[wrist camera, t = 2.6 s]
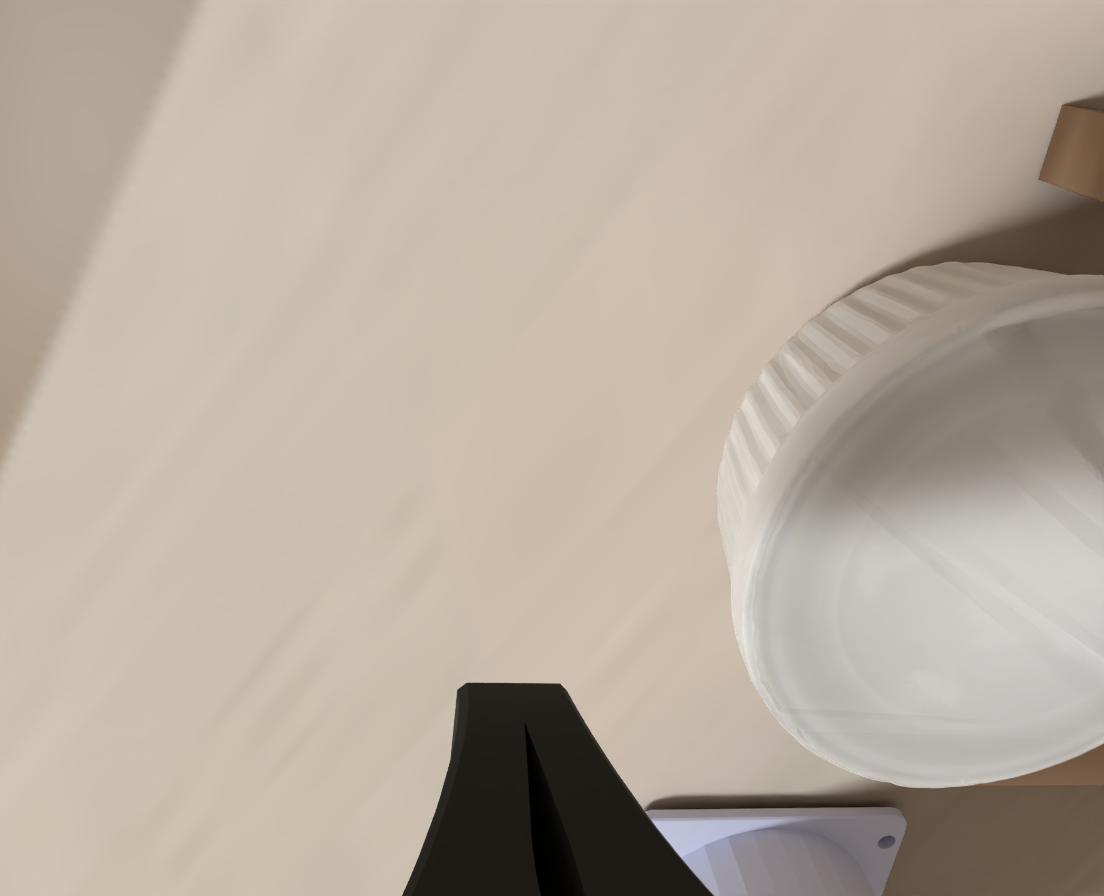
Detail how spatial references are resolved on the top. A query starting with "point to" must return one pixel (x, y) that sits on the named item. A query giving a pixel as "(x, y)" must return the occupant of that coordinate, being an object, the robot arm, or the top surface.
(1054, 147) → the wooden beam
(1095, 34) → the top surface
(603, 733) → the top surface
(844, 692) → the ramekin
